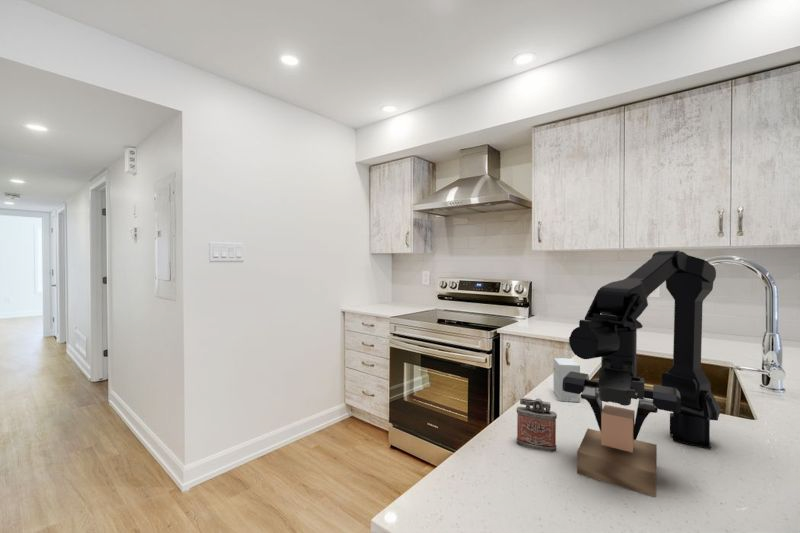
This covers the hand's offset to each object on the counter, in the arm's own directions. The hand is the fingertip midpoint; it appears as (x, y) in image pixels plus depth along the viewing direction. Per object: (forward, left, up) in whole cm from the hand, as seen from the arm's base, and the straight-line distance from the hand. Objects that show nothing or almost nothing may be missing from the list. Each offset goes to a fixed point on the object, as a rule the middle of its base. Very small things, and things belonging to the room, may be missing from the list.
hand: (617, 435), depth 70 cm
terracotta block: (0, 0, -2) cm, 2 cm away
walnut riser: (0, 0, -6) cm, 6 cm away
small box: (+16, -35, -7) cm, 39 cm away
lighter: (+15, 0, -7) cm, 17 cm away
